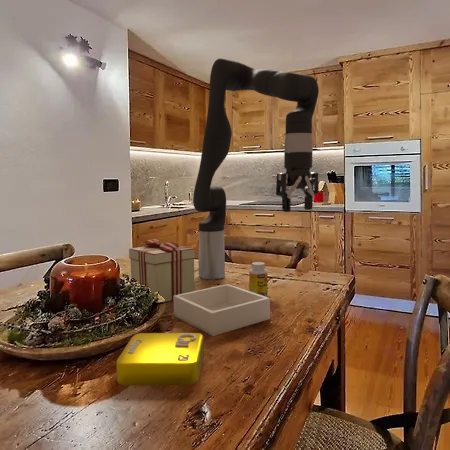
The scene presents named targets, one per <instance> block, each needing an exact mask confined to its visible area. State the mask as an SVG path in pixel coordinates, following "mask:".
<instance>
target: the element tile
mask: <svg viewBox="0 0 450 450" xmlns="http://www.w3.org/2000/svg"><path fill="white" fill-rule="evenodd" d="M204 347H205V346H204V335H203V334H202V333H200V332H145V333H144V332H142V333H140V332H139V333H136V334H135V335H133V336H132V337H131V338H130V339H129V340H128V343H127V344H126V346H125V347H124V348H123V350H122V352H121V354H120V355H119V356H118V358H117V360H116V362H115V363H116V364H115V365H116V367H115V368H116V381H117V382H116V383H117V384H118V385H120V386H191V385H195V384H197V383H198V382H199V379H200V375H201V370H202V366H203V359H204V356H205V355H204V354H205V353H204V352H205V351H204V349H205V348H204Z"/></svg>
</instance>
